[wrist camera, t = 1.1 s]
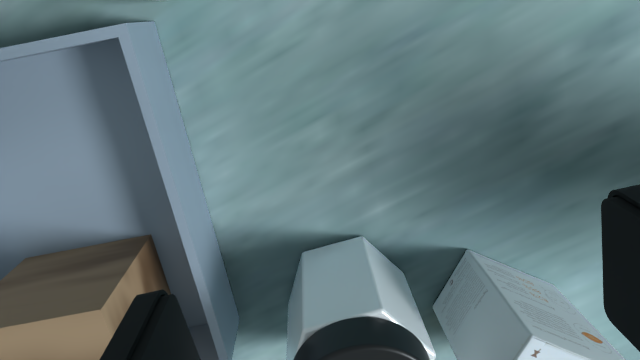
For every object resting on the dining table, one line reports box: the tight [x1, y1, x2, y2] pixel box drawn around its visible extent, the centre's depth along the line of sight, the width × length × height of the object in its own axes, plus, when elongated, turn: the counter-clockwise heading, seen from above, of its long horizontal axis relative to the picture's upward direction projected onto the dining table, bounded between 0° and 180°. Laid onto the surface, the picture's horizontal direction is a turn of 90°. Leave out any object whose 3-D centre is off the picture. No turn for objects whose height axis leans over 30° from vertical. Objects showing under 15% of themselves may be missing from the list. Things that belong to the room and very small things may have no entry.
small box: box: [433, 249, 625, 360], centre depth 32 cm, size 8×6×10 cm
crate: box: [0, 21, 240, 360], centre depth 31 cm, size 22×17×5 cm
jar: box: [286, 236, 436, 360], centre depth 31 cm, size 9×8×12 cm
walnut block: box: [0, 234, 171, 360], centre depth 31 cm, size 7×9×9 cm
